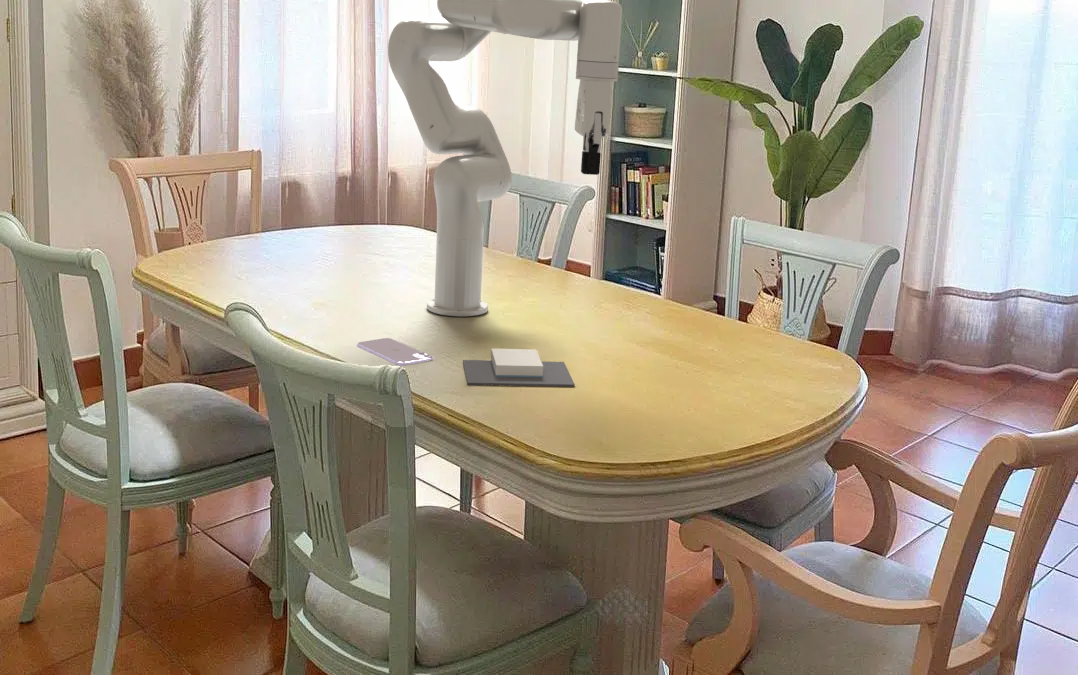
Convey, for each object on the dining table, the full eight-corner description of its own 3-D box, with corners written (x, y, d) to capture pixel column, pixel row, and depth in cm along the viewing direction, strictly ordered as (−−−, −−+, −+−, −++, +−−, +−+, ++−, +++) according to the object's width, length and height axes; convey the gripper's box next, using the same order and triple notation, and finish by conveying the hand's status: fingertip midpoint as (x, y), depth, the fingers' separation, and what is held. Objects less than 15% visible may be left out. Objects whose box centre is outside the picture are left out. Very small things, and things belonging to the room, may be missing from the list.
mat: (462, 362, 207) (463, 359, 207) (563, 364, 209) (563, 361, 209) (467, 385, 195) (467, 382, 195) (574, 386, 197) (574, 384, 197)
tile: (491, 348, 208) (496, 365, 198) (536, 349, 209) (543, 366, 199) (490, 359, 208) (495, 376, 199) (535, 360, 209) (542, 377, 200)
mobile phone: (389, 336, 218) (436, 356, 207) (389, 341, 219) (436, 361, 208) (354, 341, 213) (400, 362, 203) (354, 346, 214) (400, 368, 203)
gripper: (570, 68, 218) (564, 167, 222) (582, 73, 203) (575, 178, 208) (610, 70, 219) (603, 169, 223) (625, 75, 204) (617, 180, 209)
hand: (590, 173), depth 216 cm, fingers closed
